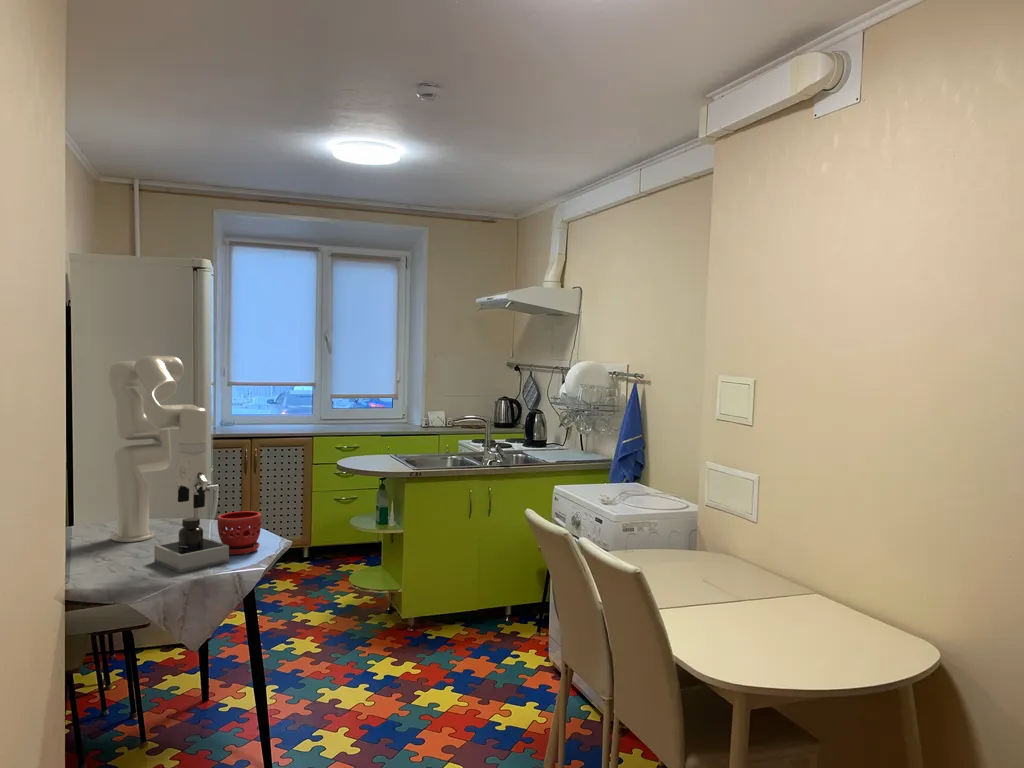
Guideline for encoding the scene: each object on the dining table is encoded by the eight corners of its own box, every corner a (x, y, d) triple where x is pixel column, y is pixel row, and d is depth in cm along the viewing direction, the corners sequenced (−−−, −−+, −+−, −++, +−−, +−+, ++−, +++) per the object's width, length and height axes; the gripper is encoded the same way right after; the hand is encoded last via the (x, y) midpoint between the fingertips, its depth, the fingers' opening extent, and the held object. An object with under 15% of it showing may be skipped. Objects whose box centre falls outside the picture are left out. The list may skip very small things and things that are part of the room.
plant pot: (267, 546, 232) (267, 510, 232) (251, 557, 219) (251, 519, 218) (228, 545, 232) (228, 509, 232) (209, 556, 219) (210, 518, 219)
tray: (154, 561, 212) (154, 545, 212) (202, 552, 223) (202, 536, 223) (179, 573, 202) (179, 555, 202) (228, 562, 213) (229, 545, 213)
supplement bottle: (177, 562, 208) (177, 522, 208) (179, 556, 215) (179, 517, 214) (202, 560, 211) (202, 520, 210) (204, 554, 217) (203, 515, 217)
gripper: (166, 445, 214) (165, 501, 215) (194, 453, 203) (192, 511, 204) (190, 443, 220) (189, 497, 221) (218, 451, 209) (217, 507, 210)
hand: (191, 504), depth 212 cm, fingers open, 9 cm apart
